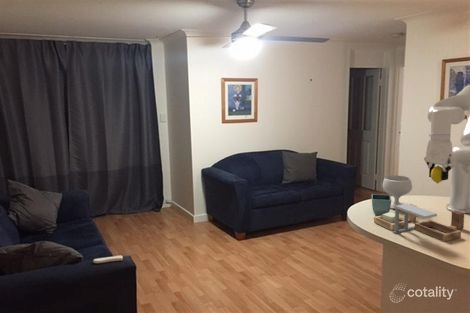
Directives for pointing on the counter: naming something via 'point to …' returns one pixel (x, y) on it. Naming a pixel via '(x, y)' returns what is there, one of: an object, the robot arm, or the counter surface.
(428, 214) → the grey bench
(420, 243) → the counter surface
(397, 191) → the chalice
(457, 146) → the robot arm
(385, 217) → the sage cube
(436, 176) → the lemon
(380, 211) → the flower pot
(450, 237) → the wooden handled tray
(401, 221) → the sled
